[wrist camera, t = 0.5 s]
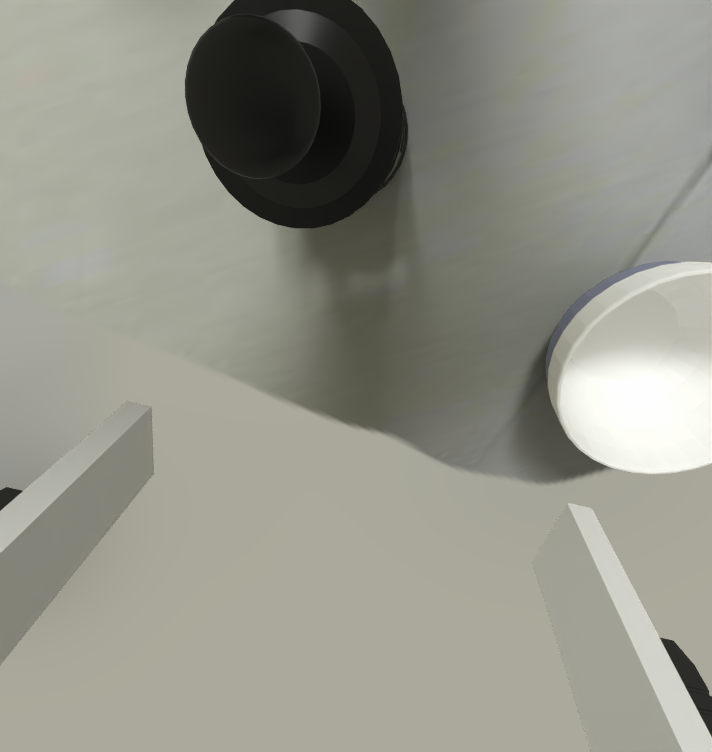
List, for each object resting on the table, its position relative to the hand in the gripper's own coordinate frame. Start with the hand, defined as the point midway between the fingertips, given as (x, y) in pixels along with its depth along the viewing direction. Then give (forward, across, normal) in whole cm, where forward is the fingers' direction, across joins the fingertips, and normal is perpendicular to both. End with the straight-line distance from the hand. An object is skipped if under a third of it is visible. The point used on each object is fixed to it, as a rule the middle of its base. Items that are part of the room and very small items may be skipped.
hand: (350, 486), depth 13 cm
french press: (+27, -6, +10) cm, 30 cm away
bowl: (+27, +21, 0) cm, 35 cm away
